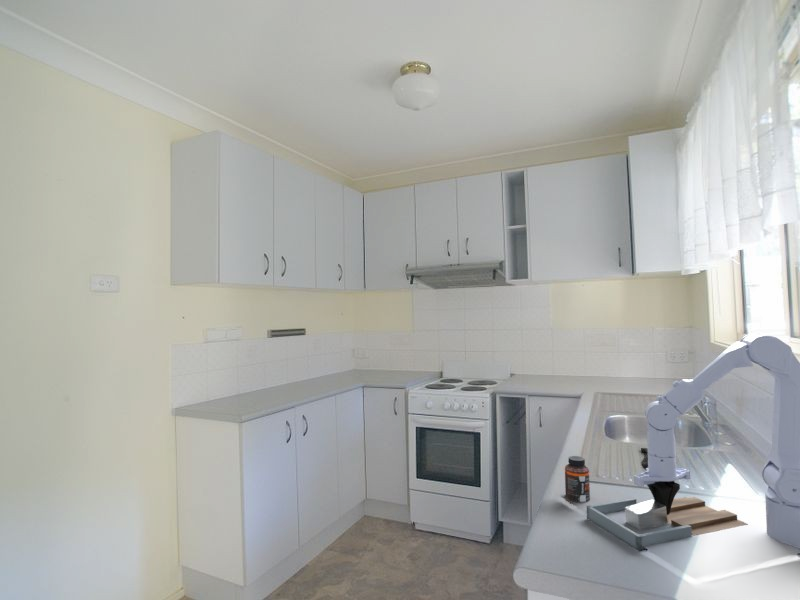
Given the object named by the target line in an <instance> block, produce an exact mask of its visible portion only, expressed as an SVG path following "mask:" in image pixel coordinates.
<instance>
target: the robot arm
mask: <svg viewBox="0 0 800 600" xmlns="http://www.w3.org/2000/svg"><path fill="white" fill-rule="evenodd" d="M753 363H754V364H757V365H758V366H760V367H761V368H762V369H764V370H765V371H766V372H767V373H768V374H770V376H772V377H773V379H774V390H773V395H774V396H773V414H772V416H773V417H772V432H771V433H772V434H771V435H772V438H771V440H772V441H771V450H770V451H769V453H768V454H767V461H766V463H765V464H764V466H763V467H762V470H761V477H762V480H763V482H764V483H765V484H766V485H767V486H768V487H767V490H766V491H765V496H764V499H765V517H766V534H767V536H768V537H770V538H771V539H773V540H775V541H777V542H780V543H784V544H785V545H788V546H789V545H790V546H792V547H794V548H796V549H799V550H800V361H799V359H798V358H797V357H796V355H795V354H794V352H793V349H792V347H791V346H790V345H789V344H787V343H785V342H784V341H783V340H781V339H780V338H778V337H777V336H773V335H764V334H761V333H758V332H757V333H755V332H753V333H748V334H746V335H743V337H741V338H740V340H739V341H737V340H736V342H734V343H732V344H730V345H729V346H728V347H727V348H726V349H725V350H723V351H722V352H721V354H719V355H718V356H717V357H716V358H715V359H714V360H712V361H711V362H710V363H709V364H708V365H706V367H704V368H703V369H702V370H700V371H699V373H697V374H696V375H694V377H693V378H691V379H686V378H683V379H681V380H679V381H678V380H675V381H674V382H673V383H671V385H672V387H671V388H670V389H668V390H667V391H666V392H665V393H664V394H662V395H661V396H660V395H657V396H656V397H655V398H656V401H655V400H654V401H652V402H649V404H648V405H646V407H645V408H646V409H645V410H644V415H645V418H646V419H647V421H648V422H647V425H646V429H647V433H646V440H647V441H646V443H647V446H646V448H647V449H648V467H645V471H643V472H641V473H640V474H634V475H633V484H634V485H636V486H638V487H641V488H642V487H643V488H644V487H645V486H647V488H648V489H649V491H650V493H651V495H652V497H653V500H654V501H656V502H658V503H660V504H662V505H664V506H666V511H667V515H669V513H670V510H671V506H672V502H673V499H675V497H676V495H677V494H678V492H679V491H680V489H681V486H680V484H679V483H677V482H676V481H677V480H690V479H691V470H688V469H686V468H677V458H676V457H677V454H676V436H675V430H674V428H675V426H676V424H677V421H678V418H680V417H682V416H684V415H685V414H686V413H687V412H689V411H690V410H691V409H692V408H694V407H695V406H696V405H698V404H700V402H702V401H703V400H704V398H705V397H704V395H705V394H704V393H705V390H707V389H708V388H709V387H711V386H712V385H713V384H715V383H716V382H718V381H719V380H721V379H723V377H725V376H726V375H727V374H728V373H730V372H732V371H733V370H734V369H741V368H747V367H754V364H753ZM796 554H797V555H799V556H800V552H797V553H796Z"/></svg>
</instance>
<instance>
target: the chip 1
mask: <svg viewBox="0 0 800 600" xmlns="http://www.w3.org/2000/svg"><path fill="white" fill-rule="evenodd" d="M639 503H640V502H637V504H635V505H631V506H628V507H625V510H624V515H625V522H626V523H627V524H629V525H630V526H632V527H634V528H636V529H637V530H639V531H642V530H647V529H652V528H655V527H654V519H653V510H651V509H649V508H647V507H645V506H643V505H641V504H639Z"/></svg>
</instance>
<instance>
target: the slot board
mask: <svg viewBox="0 0 800 600" xmlns="http://www.w3.org/2000/svg"><path fill="white" fill-rule="evenodd" d="M667 520H668V524H670V525H671V526H674V528H675V527H680V526H685V525H689V526H691V530H692V536H699V535H703V534H707V533H714V532H718V531H723V530H728V529H732V528H737V527H742V526H747V525H749V524H748V523H747V522H744V521H742V520H739V519H738V514H735V513H734V512H731V511H729V510H726V509H722V510H716V509H715V508H712V507H709V506H707V505H706V501H705V500H702V499H701V498H697V497H695V496H691V497H685V496H684V497H679V498H674V499H673V502H672V506H671V510H670V513H669V515H667Z"/></svg>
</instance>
